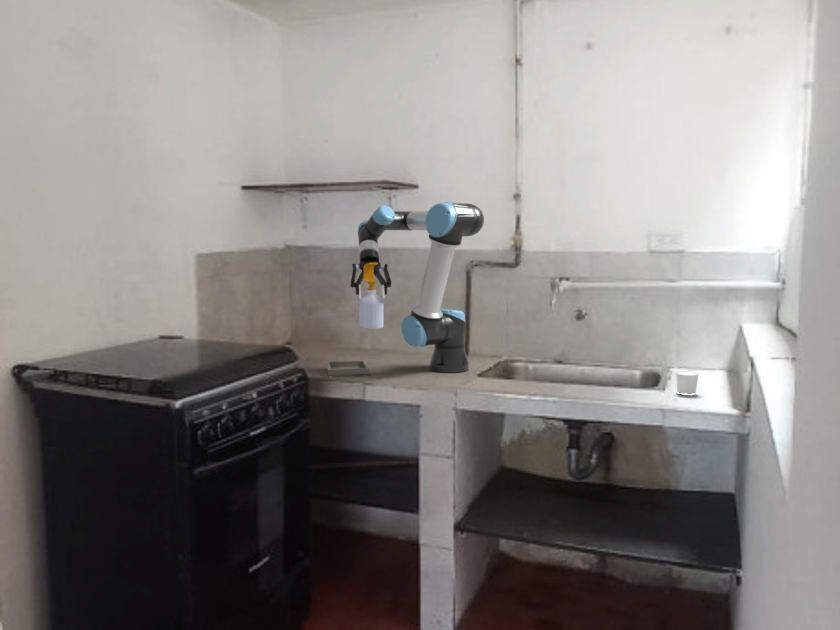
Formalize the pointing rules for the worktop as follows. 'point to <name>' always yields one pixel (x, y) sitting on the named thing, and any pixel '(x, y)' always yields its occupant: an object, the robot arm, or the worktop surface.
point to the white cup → (686, 382)
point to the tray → (347, 368)
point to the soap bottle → (371, 303)
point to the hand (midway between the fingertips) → (372, 300)
